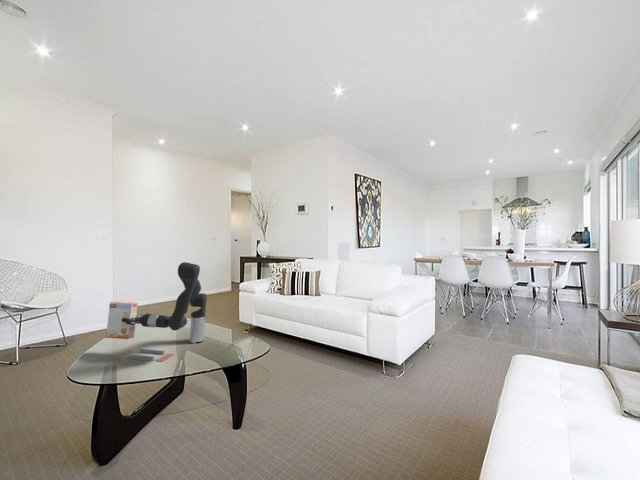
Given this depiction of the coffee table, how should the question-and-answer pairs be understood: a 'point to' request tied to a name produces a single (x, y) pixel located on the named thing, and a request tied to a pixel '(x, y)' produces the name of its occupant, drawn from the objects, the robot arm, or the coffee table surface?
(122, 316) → the cracker box
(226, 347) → the coffee table surface
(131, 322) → the robot arm
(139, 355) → the channel
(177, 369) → the coffee table surface
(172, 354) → the pad
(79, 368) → the coffee table surface
